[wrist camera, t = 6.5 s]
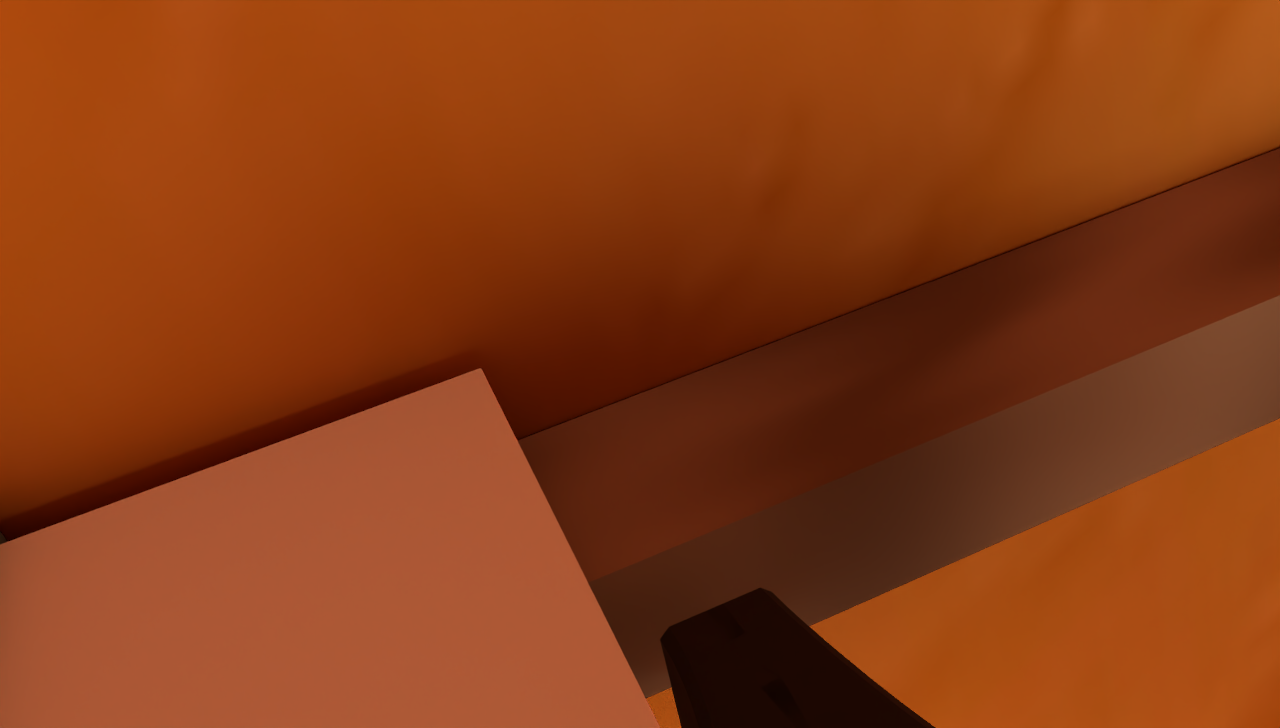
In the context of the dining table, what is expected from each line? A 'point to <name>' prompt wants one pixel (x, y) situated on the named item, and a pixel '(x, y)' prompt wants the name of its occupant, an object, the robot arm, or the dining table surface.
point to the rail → (928, 418)
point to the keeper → (320, 591)
